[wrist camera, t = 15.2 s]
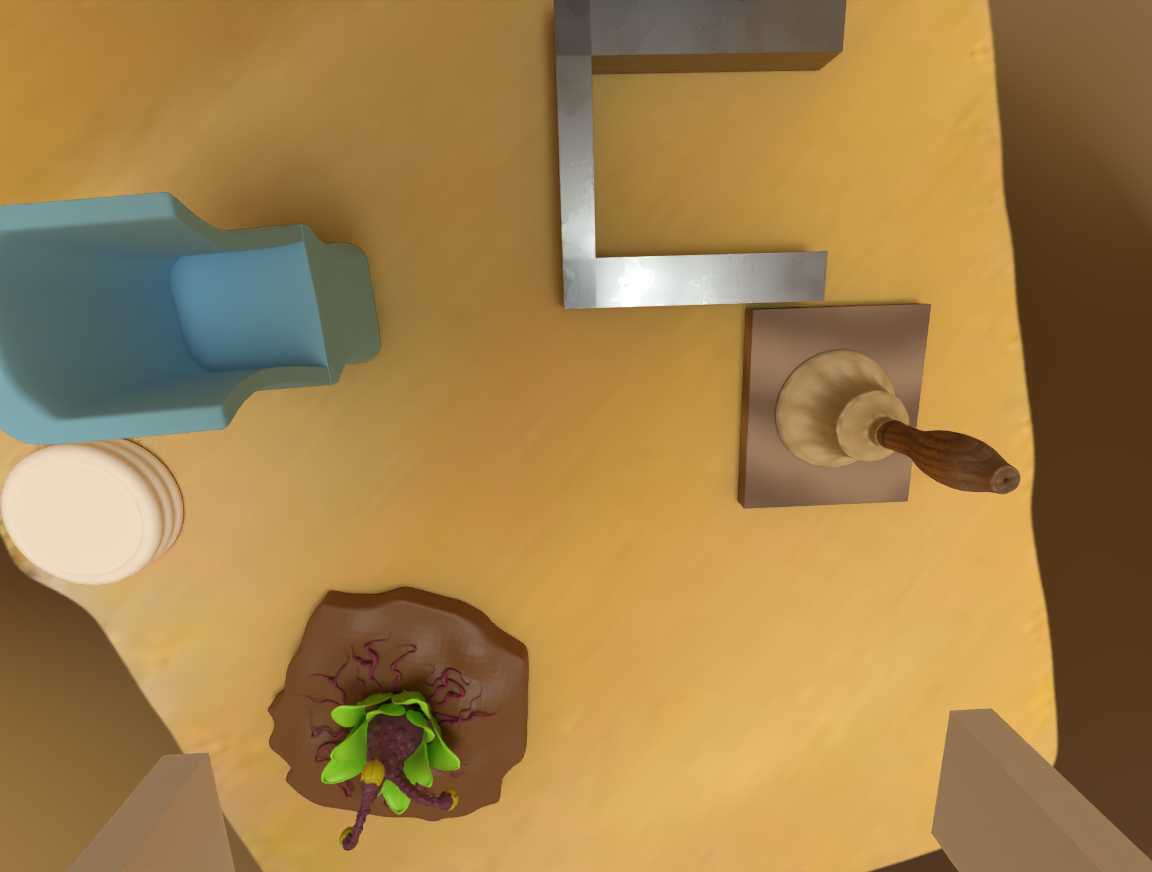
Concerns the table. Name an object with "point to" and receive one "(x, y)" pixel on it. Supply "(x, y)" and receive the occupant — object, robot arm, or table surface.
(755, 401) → the walnut board
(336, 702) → the plant
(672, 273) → the silver c-shaped bracket
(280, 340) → the light blue holder
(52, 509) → the beige short cylinder
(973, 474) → the hand bell
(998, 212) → the table surface
